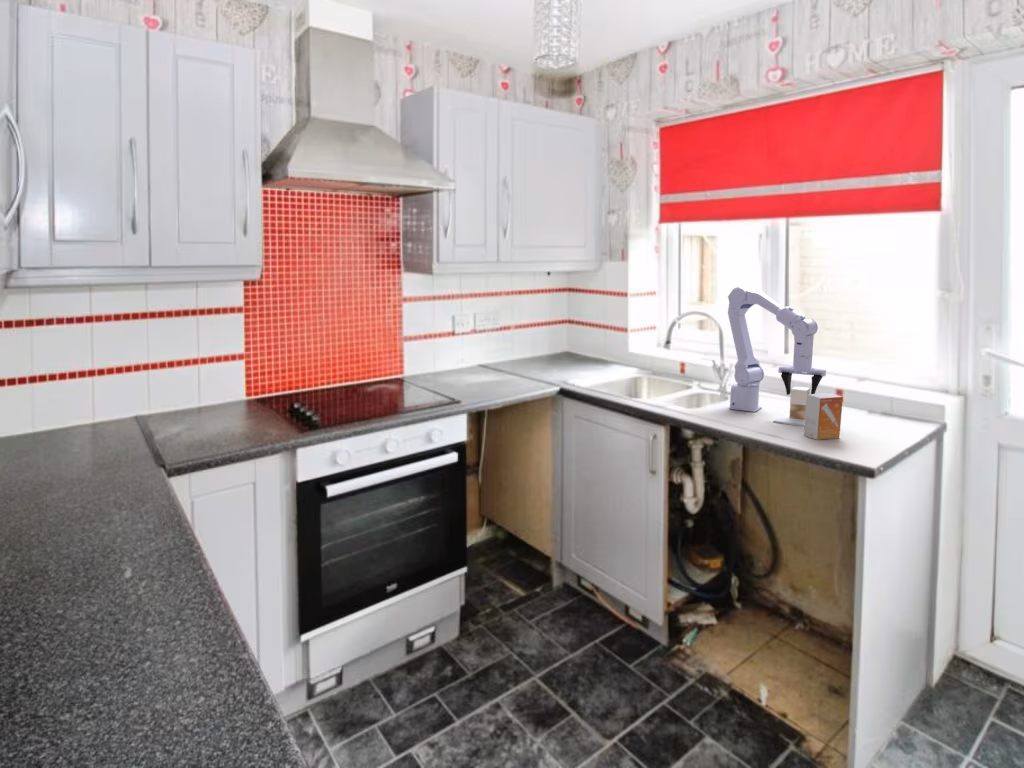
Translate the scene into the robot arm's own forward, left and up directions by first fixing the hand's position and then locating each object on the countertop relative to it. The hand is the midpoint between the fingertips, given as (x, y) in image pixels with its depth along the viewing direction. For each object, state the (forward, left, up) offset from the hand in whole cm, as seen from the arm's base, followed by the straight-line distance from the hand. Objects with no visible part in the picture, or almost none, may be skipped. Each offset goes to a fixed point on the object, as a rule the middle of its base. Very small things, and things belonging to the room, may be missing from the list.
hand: (800, 395), depth 220 cm
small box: (+11, -19, -8) cm, 24 cm away
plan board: (0, -2, -8) cm, 8 cm away
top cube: (0, 0, -3) cm, 3 cm away
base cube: (0, 0, -8) cm, 8 cm away
